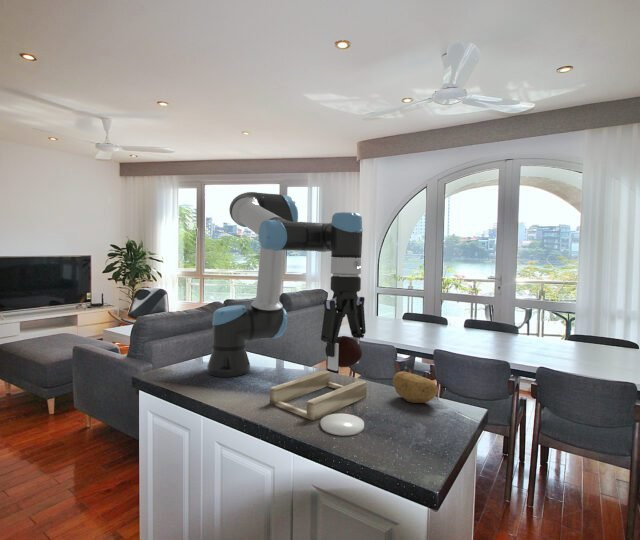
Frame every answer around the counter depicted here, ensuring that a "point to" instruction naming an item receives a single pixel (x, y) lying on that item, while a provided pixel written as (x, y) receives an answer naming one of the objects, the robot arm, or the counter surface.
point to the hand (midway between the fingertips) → (343, 365)
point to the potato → (414, 387)
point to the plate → (342, 424)
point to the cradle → (319, 404)
